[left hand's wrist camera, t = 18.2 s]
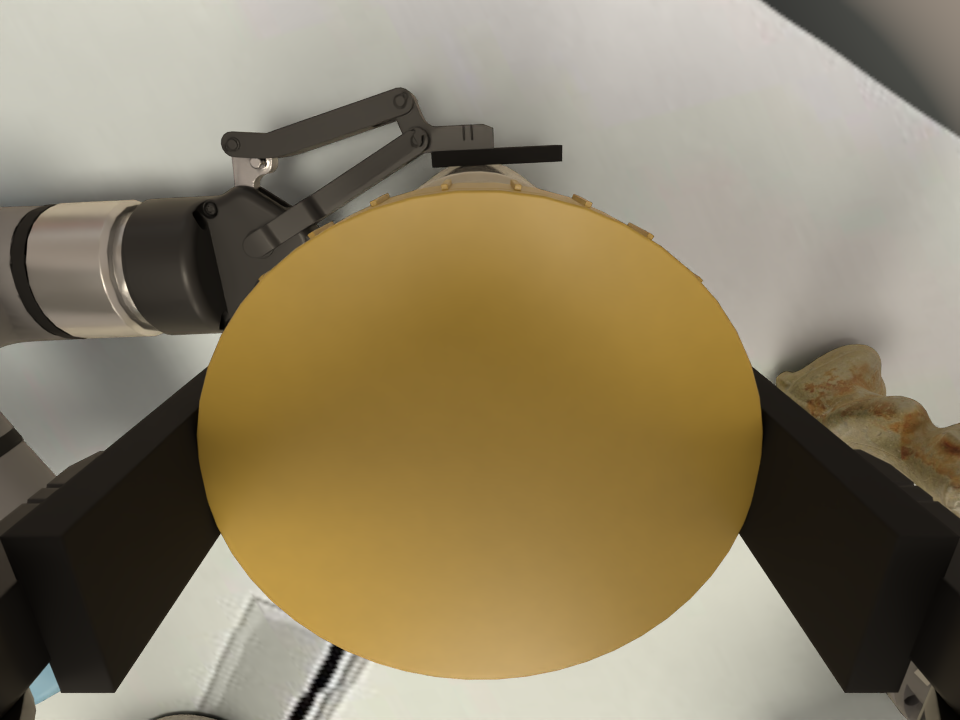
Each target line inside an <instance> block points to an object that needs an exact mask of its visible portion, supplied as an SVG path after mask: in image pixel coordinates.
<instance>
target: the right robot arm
mask: <svg viewBox="0 0 960 720" xmlns="http://www.w3.org/2000/svg"><path fill="white" fill-rule="evenodd" d="M395 121H397V122H398V125H399V127H400V129H401V132H402V135H401V136H399V137H398V138H396V139H395V140H393V141H392V142H390V143H389V144H387V145H386V146H384V147H383V148H381V149H380V150H378V151H377V152H375V153H374V154H372V155H371V156H369V157H368V158H366V159H365V160H363V161H362V162H360V163H359V164H357V165H356V166H354V167H353V168H351V169H350V170H348V171H347V172H345V173H344V174H342V175H341V176H339V177H338V178H336V179H335V180H333V181H332V182H330V183H329V184H327V185H326V186H324V187H323V188H321V189H320V190H318V191H317V192H315V193H314V194H312V195H311V196H309V197H307V198H305V199H303V200H302V201H300V202H299V203H297V204H296V205H294V206H291V205H290V204H288V203H286V202H285V201H283V200H282V199H280V198H278V197H277V196H275V195H274V194H272V193H270V192H269V191H267V190H266V189H264V188H262V187H260V181H261V178H262V177H263V176H264V175H266V174H269V173H273V172H274V171H275V170H276V169H277V167H278V158H281V157H290V156H294V155H298V154H301V153H304V152H307V151H310V150H313V149H316V148H319V147H322V146H325V145H328V144H331V143H334V142H337V141H340V140H342V139H345V138H348V137H351V136H354V135H357V134H360V133H363V132H366V131H369V130H372V129H375V128H378V127H381V126H384V125H386V124H389V123H392V122H395ZM221 145H222V149H223V150H224V152H225V153H226V154H227V155H229V156H231V157H232V163H233V172H234V181H235V187H233V188H231V189H230V190H229V191H227V192H226V193H224V194H222V195H218V196H200V197H180V198H160V199H149V200H146V201H144V202H139V201H136V200H118V201H98V202H77V203H60V204H52V205H44V206H20V207H0V348H1V347H4V346H7V345H11V344H15V343H21V342H31V341H47V340H66V339H87V338H115V337H143V336H157V335H160V334H162V333H165V334H168V335H186V334H210V333H223V331H224V330H225V328H226V326H227V325H228V323H229V322H230V320H231V318H232V317H233V315H234V314H235V312H236V310H237V309H238V307H239V305H240V304H241V303H242V301H243V300H244V299H245V298H246V297H247V296H248V294H249V293H250V292H251V291H252V290H253V289H254V287H255V286H256V285H257V284H258V283H259V282H260V281H259V280H258V279H259V278H260V277H261V276H262V275H263V274H265V273H267V272H268V271H270V270H271V269H272V268H274V267H275V266H276V265H277V264H278V263H279V262H281V261H282V260H283V259H284V258H285V257H286V256H288V255H289V254H290V253H291V252H292V251H293V250H295V249H296V248H297V247H299V246H300V245H302V244H304V243H305V242H307V241H308V240H310V238H309V236H308V234H309V233H311V232H313V231H314V230H316V229H318V228H319V227H318V226H317V223H318V222H320V221H322V220H323V219H325V218H326V217H328V216H329V215H331V214H332V213H334V212H335V211H336V210H338V209H339V208H341V207H342V206H344V205H345V204H347V203H349V202H350V201H352V200H353V199H355V198H356V197H358V196H359V195H361V194H362V193H364V192H365V191H367V190H368V189H370V188H372V187H373V186H375V185H376V184H378V183H379V182H381V181H382V180H384V179H385V178H387V177H388V176H390V175H391V174H393V173H394V172H396V171H398V170H399V169H401V168H402V167H404V166H405V165H407V164H408V163H410V162H411V161H413V160H414V159H416V158H417V157H419V156H421V155H422V154H424V153H430V152H431V154H432V168H435V167H456V166H476V165H497V164H517V163H538V162H558V161H562V145H544V146H524V147H504V148H494V140H493V128H492V127H489V126H487V125H484V124H476V125H456V126H431V125H430V124H428V123H427V122H426V121H425V119H424V117H423V115H422V112H421V110H420V108H419V105H418V102H417V99H416V97H415V96H414V95H413V94H412V93H411V92H409V91H408V90H406V89H404V88H395V89H392V90H389V91H386V92H383V93H380V94H378V95H375V96H372V97H369V98H366V99H363V100H360V101H357V102H355V103H352V104H349V105H346V106H343V107H340V108H337V109H334V110H332V111H329V112H326V113H323V114H320V115H317V116H314V117H311V118H309V119H306V120H303V121H300V122H297V123H294V124H291V125H288V126H286V127H283V128H280V129H277V130H274V131H271V132H268V133H254V132H227V133H225V134H224V135H223V137H222V139H221ZM55 477H56V475H55V474H54V473H53V472H52V471H51V470H50V469H49V468H48V467H47V466H46V464H45V463H44V462H43V461H42V460H41V459H40V458H39V457H38V456H37V455H36V454H35V452H34V451H33V450H32V449H31V448H30V447H29V446H28V445H27V444H26V443H25V442H24V439H23V438H22V436H21V435H20V434H19V433H18V432H17V431H16V430H15V428H14V427H13V425H12V424H11V423H10V422H9V421H8V420H7V419H6V417H5V416H4V415H3V414H2V413H1V412H0V521H1V520H2V519H3V518H4V517H6V516H7V515H8V514H9V513H11V512H12V511H13V510H15V509H16V508H17V507H18V506H20V505H21V504H22V503H27V499H29V498H30V497H31V496H32V495H34V494H35V493H36V492H37V491H39V490H40V489H41V488H46V487H47V484H48V483H49V482H50V481H52V480H53V479H54V478H55ZM29 688H30V690H31V693H32V695H33V697H34V702H35V705H36V704H38V703H40V702H42V701H44V700H46V699H47V698H49V697H51V696H53V695H54V694H56V693H58V692H59V691H60V689H59V686H58V684H57V681H56V678H55V676H54V673H53V671H52V668H51V666H50V663H49V664H48V665H47V666H46V667H45V668H44V670H43V671H42V672H41V673H40V675H39V676H38V677H37V678H36V679H35V681H34V682H33V683H32V684H31V685H30V687H29Z"/></svg>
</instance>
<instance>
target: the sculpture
mask: <svg viewBox="0 0 960 720" xmlns="http://www.w3.org/2000/svg"><path fill="white" fill-rule="evenodd" d="M776 385H777V387H778V388H779V389H780V390H781V391H782V392H784V393H785V394H786V395H787V396H789V397H790V398H791V399H792V400H793V401H795V402H796V403H797V404H798V405H800V406H801V407H802V408H803V409H804V410H806V411H807V412H808V413H809V414H811V415H812V416H813V417H814V418H815V419H817V420H818V421H819V422H820V423H822V424H823V425H824V426H825V427H826V428H828V429H829V430H830V431H831V432H833V433H834V434H835V435H836V436H837V437H839V438H840V439H841V440H842V441H844V442H845V443H846V444H847V445H849V446H850V447H851V448H852V449H861V450H863V451H865V452H867V453H869V454H871V455H873V456H875V457H877V458H879V459H881V460H883V461H885V462H887V463H889V464H891V465H892V466H893V467H895V468H896V469H897V470H899V471H900V472H901V473H902V474H904V475H905V476H906V477H908V478H909V479H910V480H911V481H913V482H914V483H915V484H916V485H917V486H919V487H920V488H922V489H923V490H924V491H926V492H927V493H928V494H929V495H931V496H932V497H933V501H938V502H940V503H941V504H942V505H944V506H945V507H946V508H947V509H949V510H950V511H951V512H953V513H954V514H955V515H956V516H958V517H959V518H960V423H958V424H955V425H952V426H949V427H945V428H938V427H936V426H935V425H934V424H933V423H932V422H931V420H930V418H929V416H928V414H927V412H926V410H925V409H924V408H923V406H922V405H921V404H920V403H918V402H917V401H915V400H913V399H910V398H907V397H903V396H887V397H886V387H885V384H884V381H883V379H882V377H881V360H880V357H879V355H878V353H877V352H876V351H875V350H874V349H873V348H871V347H869V346H867V345H859V344H854V345H846V346H842V347H839V348H836V349H834V350H832V351H830V352H828V353H826V354H824V355H823V356H821V357H819V358H817V359H816V360H815V361H813V362H812V363H810V364H809V365H807V366H806V367H804V368H803V369H801V370H799V371H797V372H793V373H792V372H789V371H786V372H783V373H781V374H780V375H779V376H778V377H777V378H776Z"/></svg>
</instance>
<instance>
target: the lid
mask: <svg viewBox="0 0 960 720" xmlns="http://www.w3.org/2000/svg"><path fill="white" fill-rule="evenodd" d="M370 204H371V206H369V207H367V208H365V209H363V210H360V211H358V212H356V213H354V214H352V215H350V216H348V217H347V218H345V219H343V220H341V221H339V222H338V223H336V224H334V223H333V222H330V223H328V224H326V225H324V226H322V227H320V228H318V229H316V230H314V231H313V232H311V233H309V234H308V236H309V238H310V240H308V241H307V242H305V243H304V244H302V245H300V246H299V247H297V248H296V249H295V250H293V251H292V252H291V253H290V254H289V255H288V256H286V257H285V258H284V259H283V260H282V261H281V262H279V263H278V264H277V265H276V266H275V267H274V268H272V269H271V270H270V271H268V272H267V273H265V274H263V275H262V276H261V277H260V278H259V279H258V280H259V281H260V282H259V283H258V284H257V285H256V286H255V287H254V289H253V290H252V291H251V292H250V293H249V294H248V296H247V297H246V298H245V299H244V300H243V301H242V303H241V304H240V305H239V307H238V309H237V310H236V312H235V314H234V315H233V317H232V318H231V320H230V322H229V323H228V325H227V326H226V328H225V330H224V331H223V333H222V335H221V337H220V339H219V342H218V344H217V346H216V349H215V351H214V354H213V356H212V358H211V361H210V363H209V365H208V368H207V372H206V376H205V380H204V385H203V389H202V393H201V397H200V402H199V414H198V426H197V444H198V458H199V463H200V469H201V473H202V478H203V482H204V487H205V491H206V496H207V500H208V504H209V506H210V509H211V512H212V514H213V517H214V519H215V522H216V525H217V527H218V529H219V531H220V532H221V534H222V536H223V538H224V540H225V542H226V543H227V545H228V547H229V549H230V551H231V552H232V554H233V556H234V557H235V558H236V560H237V561H238V562H239V564H240V565H241V566H242V568H243V569H244V570H245V572H246V573H247V575H248V576H249V577H250V579H251V580H252V581H253V582H254V583H255V584H256V585H257V586H258V587H259V588H260V589H261V590H262V591H263V592H264V593H265V595H266V596H267V597H268V598H269V599H270V600H271V601H272V602H273V603H275V604H276V605H277V606H278V607H279V608H281V609H282V610H283V611H284V612H285V613H287V614H288V615H289V616H290V617H291V618H293V619H294V620H295V621H297V622H298V623H300V624H301V625H303V626H304V627H306V628H307V629H309V630H310V631H312V632H313V633H315V634H316V635H318V636H319V637H321V638H323V639H325V640H326V641H328V642H330V643H332V644H334V645H336V646H338V647H340V648H342V649H344V650H346V651H348V652H350V653H353V654H355V655H358V656H360V657H363V658H365V659H368V660H370V661H373V662H375V663H378V664H382V665H385V666H389V667H392V668H396V669H399V670H403V671H407V672H412V673H418V674H423V675H428V676H434V677H443V678H454V679H466V680H472V679H506V678H516V677H526V676H532V675H537V674H542V673H547V672H552V671H557V670H561V669H564V668H567V667H571V666H574V665H577V664H581V663H584V662H587V661H590V660H592V659H594V658H597V657H599V656H602V655H604V654H607V653H609V652H612V651H614V650H616V649H618V648H620V647H622V646H624V645H625V644H627V643H629V642H631V641H633V640H635V639H637V638H639V637H640V636H642V635H644V634H645V633H647V632H648V631H650V630H651V629H653V628H654V627H655V626H657V625H658V624H660V623H661V622H663V621H664V620H666V619H667V618H668V617H670V616H671V615H672V614H673V613H674V612H675V611H677V610H678V609H679V608H680V607H681V606H682V605H684V604H685V603H686V602H687V601H688V600H689V599H691V597H692V596H693V595H694V594H695V593H696V592H697V591H698V590H699V589H700V588H701V587H702V586H703V584H704V583H705V582H706V581H707V580H708V579H709V578H710V577H711V576H712V574H713V573H714V571H715V570H716V569H717V567H718V566H719V565H720V563H721V562H722V560H723V559H724V558H725V556H726V555H727V553H728V552H729V550H730V548H731V547H732V545H733V543H734V541H735V539H736V537H737V535H738V534H739V532H740V530H741V528H742V526H743V524H744V522H745V519H746V516H747V513H748V511H749V508H750V505H751V501H752V497H753V493H754V489H755V484H756V479H757V475H758V470H759V466H760V460H761V455H762V439H763V427H762V416H761V406H760V397H759V393H758V389H757V385H756V381H755V377H754V373H753V369H752V366H751V363H750V361H749V358H748V356H747V354H746V351H745V349H744V347H743V344H742V342H741V340H740V338H739V335H738V333H737V331H736V329H735V328H734V326H733V325H732V323H731V322H730V320H729V318H728V317H727V315H726V314H725V312H724V311H723V309H722V307H721V306H720V304H719V303H718V301H717V300H716V299H715V298H714V297H713V295H712V294H711V293H710V292H709V291H708V290H707V289H706V287H705V286H704V285H703V284H702V283H701V282H702V281H703V280H702V279H701V278H700V277H699V276H697V275H696V274H694V273H692V272H691V271H690V270H689V269H688V268H687V267H685V266H684V265H683V264H682V263H681V262H679V261H678V260H677V259H676V258H675V257H673V256H672V255H671V254H670V253H669V252H668V251H666V250H665V249H664V248H663V247H662V246H660V245H658V244H657V243H655V242H654V241H652V239H653V237H654V236H653V235H652V234H650V233H649V232H647V231H645V230H643V229H641V228H639V227H637V226H635V225H633V224H632V223H628V225H626V224H624V223H622V222H620V221H619V220H617V219H615V218H613V217H611V216H610V215H608V214H606V213H604V212H602V211H600V210H598V209H595V208H593V207H591V206H592V203H591V202H590V201H588V200H586V199H584V198H582V197H580V196H578V195H575V194H573V197H572V198H570V197H567V196H563V195H559V194H556V193H552V192H548V191H545V190H541V189H538V188H534V187H527V186H522V185H521V184H520V183H519V182H518V181H517V180H513V179H511V181H510V184H504V183H455V184H452V180H451V179H447V180H445V181H444V182H443V183H442V184H441V186H434V187H427V188H422V189H418V190H415V191H411V192H408V193H404V194H401V195H397V196H394V197H390V196H389V194H388V193H387V194H385V195H382V196H380V197H379V198H377V199H375V200H373V201H371V202H370Z"/></svg>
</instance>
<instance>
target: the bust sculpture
mask: <svg viewBox="0 0 960 720" xmlns="http://www.w3.org/2000/svg"><path fill="white" fill-rule="evenodd" d="M156 720H216V719H212V718H208V717H204V716H197V715H172V716H167V717H163V718H159V719H156Z"/></svg>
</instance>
